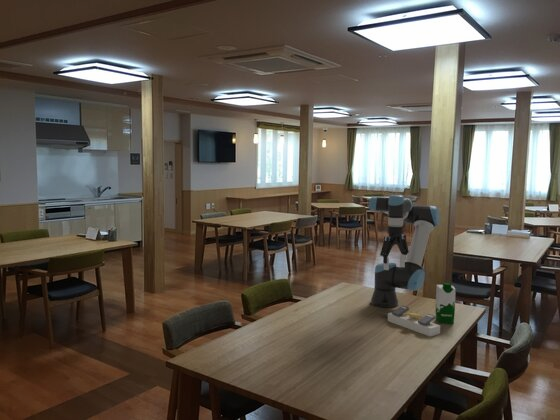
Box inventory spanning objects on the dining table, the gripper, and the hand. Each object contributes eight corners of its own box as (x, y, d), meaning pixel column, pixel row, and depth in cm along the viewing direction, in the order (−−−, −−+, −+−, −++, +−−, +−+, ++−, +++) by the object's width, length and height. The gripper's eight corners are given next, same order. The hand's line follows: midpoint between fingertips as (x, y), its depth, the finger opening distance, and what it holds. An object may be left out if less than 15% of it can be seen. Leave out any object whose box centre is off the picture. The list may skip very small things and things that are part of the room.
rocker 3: (428, 316, 224) (428, 313, 224) (435, 318, 221) (435, 315, 221) (418, 323, 220) (417, 320, 220) (424, 325, 217) (424, 322, 217)
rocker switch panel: (385, 314, 247) (385, 305, 246) (439, 333, 219) (440, 323, 218) (376, 316, 243) (376, 307, 242) (430, 336, 215) (430, 325, 214)
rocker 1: (402, 307, 237) (402, 305, 237) (409, 309, 234) (408, 307, 234) (392, 314, 233) (391, 311, 233) (398, 316, 230) (398, 313, 230)
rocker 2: (414, 315, 231) (415, 313, 231) (421, 318, 228) (422, 315, 228) (404, 314, 226) (405, 311, 226) (410, 316, 223) (411, 313, 223)
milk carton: (437, 323, 233) (439, 284, 231) (433, 318, 241) (435, 280, 240) (455, 324, 232) (457, 285, 230) (451, 318, 241) (452, 280, 239)
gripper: (405, 223, 246) (404, 264, 249) (373, 226, 233) (372, 269, 235) (416, 225, 240) (415, 266, 242) (384, 228, 227) (383, 272, 229)
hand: (394, 268), depth 239 cm, fingers open, 11 cm apart
